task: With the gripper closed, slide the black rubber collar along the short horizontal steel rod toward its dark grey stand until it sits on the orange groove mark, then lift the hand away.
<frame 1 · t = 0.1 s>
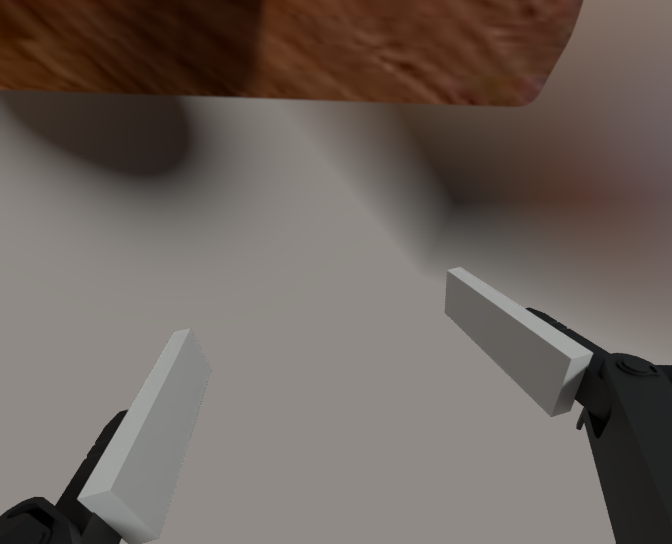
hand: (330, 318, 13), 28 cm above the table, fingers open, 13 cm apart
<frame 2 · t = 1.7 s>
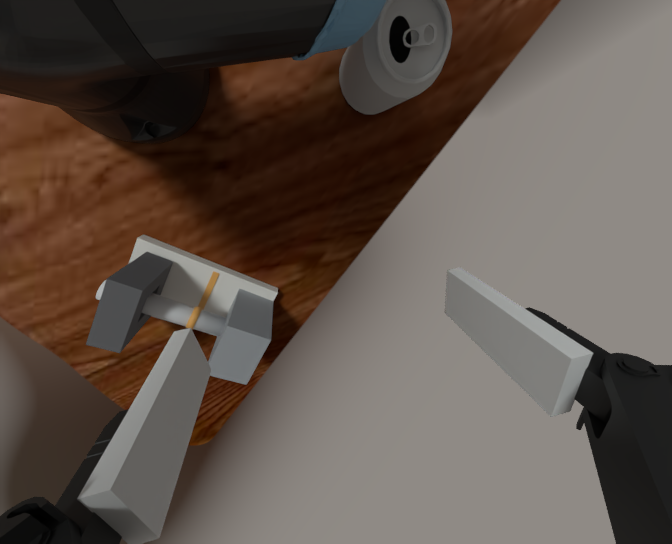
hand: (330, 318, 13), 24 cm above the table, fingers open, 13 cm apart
rod stand: (203, 293, 37), on the table
can: (368, 79, 31), on the table
collar: (134, 298, 29), point 6 cm above the table, slide at 0.0 cm
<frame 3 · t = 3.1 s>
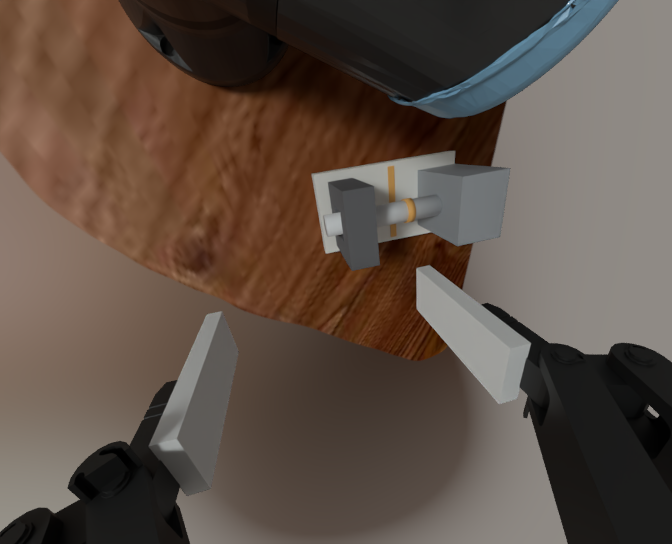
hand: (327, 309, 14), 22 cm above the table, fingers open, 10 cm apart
rod stand: (384, 202, 35), on the table
collar: (352, 221, 29), point 6 cm above the table, slide at 0.0 cm
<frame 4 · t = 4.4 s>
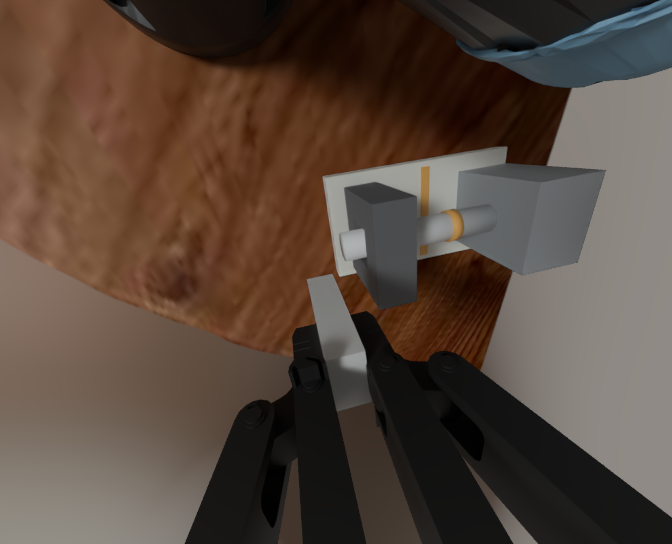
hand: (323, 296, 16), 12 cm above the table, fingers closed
rod stand: (412, 211, 28), on the table
collar: (377, 240, 22), point 6 cm above the table, slide at 0.0 cm
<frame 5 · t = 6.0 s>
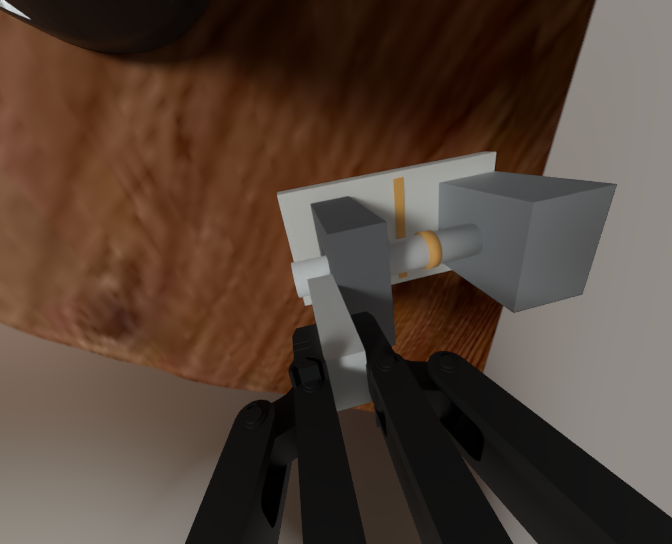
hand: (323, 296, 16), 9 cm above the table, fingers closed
rod stand: (388, 228, 24), on the table
collar: (349, 267, 18), point 6 cm above the table, slide at 0.8 cm, touching gripper
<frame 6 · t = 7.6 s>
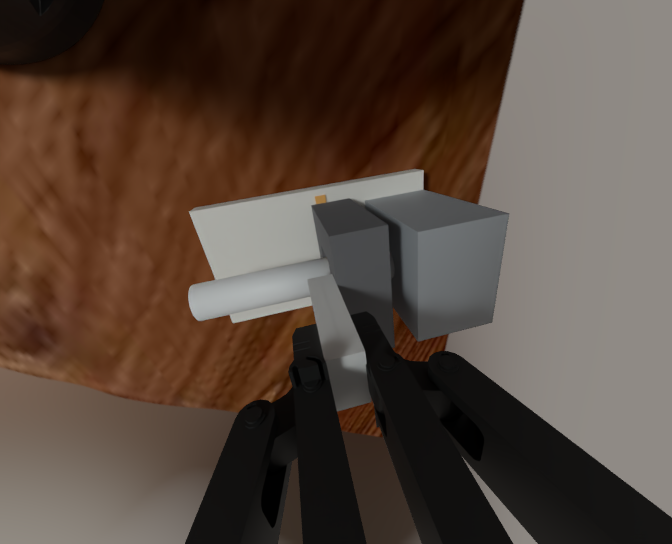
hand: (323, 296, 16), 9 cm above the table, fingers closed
rod stand: (320, 245, 23), on the table
collar: (349, 269, 18), point 6 cm above the table, slide at 7.2 cm, touching gripper
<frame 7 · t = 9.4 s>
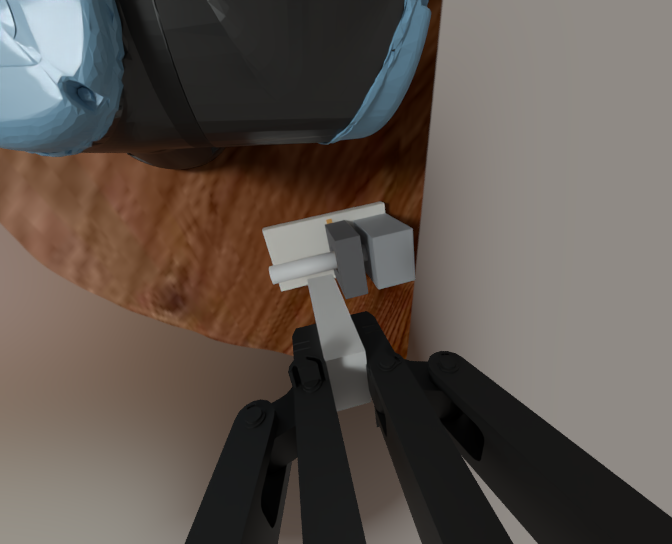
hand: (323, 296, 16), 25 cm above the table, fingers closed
rod stand: (329, 245, 41), on the table
collar: (345, 257, 36), point 6 cm above the table, slide at 7.2 cm
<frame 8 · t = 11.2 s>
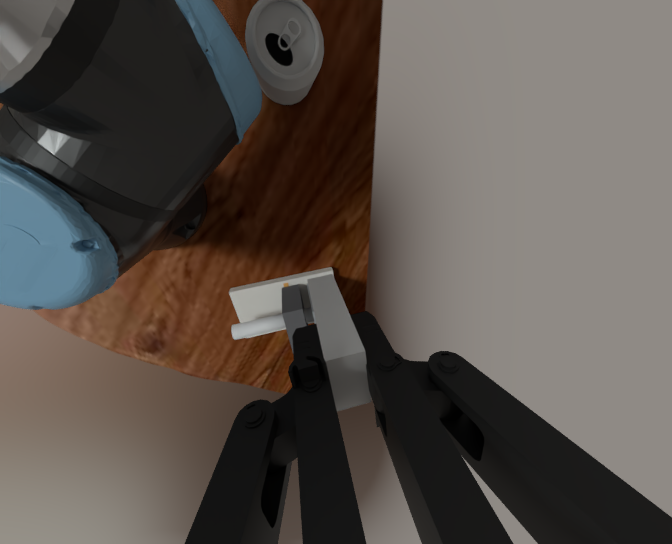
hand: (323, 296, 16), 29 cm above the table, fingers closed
rod stand: (288, 300, 49), on the table
can: (284, 73, 35), on the table
collar: (296, 317, 43), point 6 cm above the table, slide at 7.2 cm
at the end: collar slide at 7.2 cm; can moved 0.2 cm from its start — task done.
